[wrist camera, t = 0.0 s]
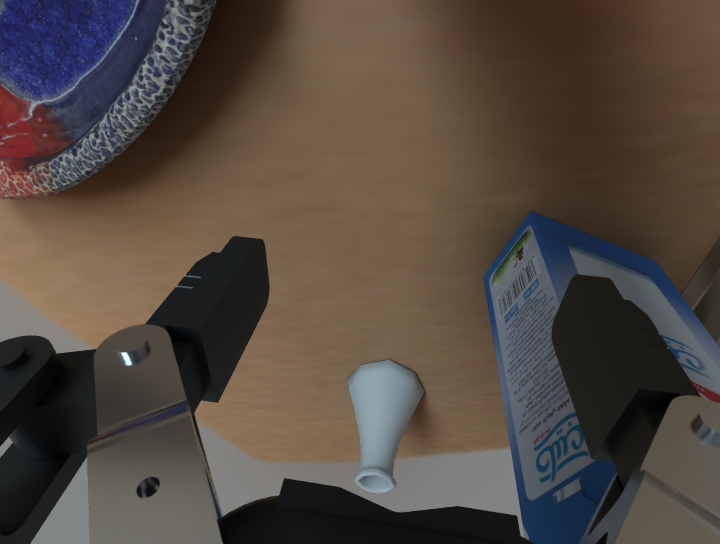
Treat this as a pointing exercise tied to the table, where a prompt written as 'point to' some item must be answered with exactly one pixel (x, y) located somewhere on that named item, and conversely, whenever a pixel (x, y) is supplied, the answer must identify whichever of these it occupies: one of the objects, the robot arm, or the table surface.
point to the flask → (382, 418)
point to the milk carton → (543, 373)
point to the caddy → (706, 293)
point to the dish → (85, 83)
